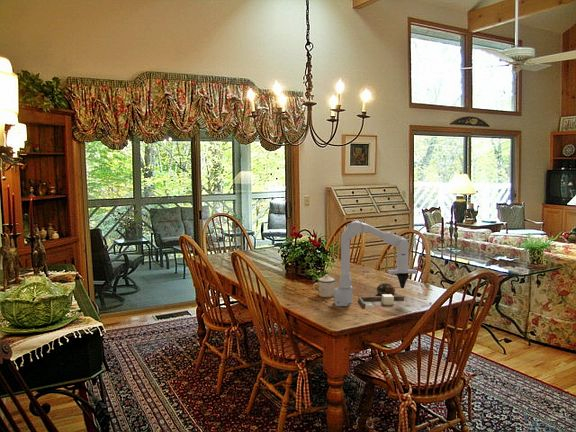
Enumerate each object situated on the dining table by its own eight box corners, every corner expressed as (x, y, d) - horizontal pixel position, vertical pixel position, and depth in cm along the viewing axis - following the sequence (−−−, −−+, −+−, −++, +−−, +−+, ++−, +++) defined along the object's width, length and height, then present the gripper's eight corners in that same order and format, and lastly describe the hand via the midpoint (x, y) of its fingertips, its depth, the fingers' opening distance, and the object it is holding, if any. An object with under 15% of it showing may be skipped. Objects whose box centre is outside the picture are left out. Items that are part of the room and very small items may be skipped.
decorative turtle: (384, 302, 255) (383, 287, 255) (372, 296, 270) (371, 282, 269) (401, 299, 258) (400, 284, 257) (387, 294, 272) (386, 280, 272)
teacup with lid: (332, 292, 275) (332, 272, 273) (336, 297, 266) (336, 276, 264) (312, 293, 273) (312, 273, 272) (314, 298, 264) (314, 277, 263)
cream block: (384, 304, 245) (384, 297, 245) (381, 301, 250) (381, 294, 250) (393, 304, 245) (393, 296, 245) (391, 301, 250) (391, 294, 250)
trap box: (363, 310, 240) (363, 303, 240) (358, 303, 253) (358, 296, 253) (410, 309, 241) (411, 302, 241) (403, 302, 254) (403, 295, 254)
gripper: (390, 263, 242) (390, 290, 243) (419, 263, 242) (418, 289, 244) (387, 260, 249) (386, 286, 250) (414, 260, 249) (414, 285, 251)
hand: (402, 287), depth 247 cm, fingers closed
